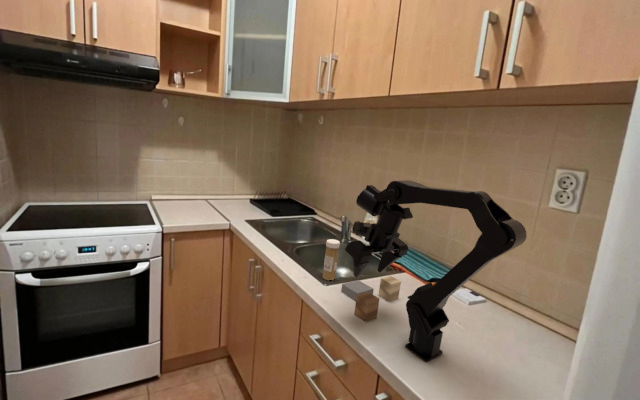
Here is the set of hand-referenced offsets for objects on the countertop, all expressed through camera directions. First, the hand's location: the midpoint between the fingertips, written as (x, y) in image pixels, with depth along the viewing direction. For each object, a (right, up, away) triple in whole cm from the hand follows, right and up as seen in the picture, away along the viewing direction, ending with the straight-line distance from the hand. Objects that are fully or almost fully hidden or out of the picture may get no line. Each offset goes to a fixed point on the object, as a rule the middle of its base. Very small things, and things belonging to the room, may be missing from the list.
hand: (367, 273), depth 94 cm
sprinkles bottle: (-10, -7, +23) cm, 26 cm away
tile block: (-1, -10, +14) cm, 17 cm away
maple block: (+8, -10, +14) cm, 19 cm away
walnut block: (0, -12, +1) cm, 12 cm away
